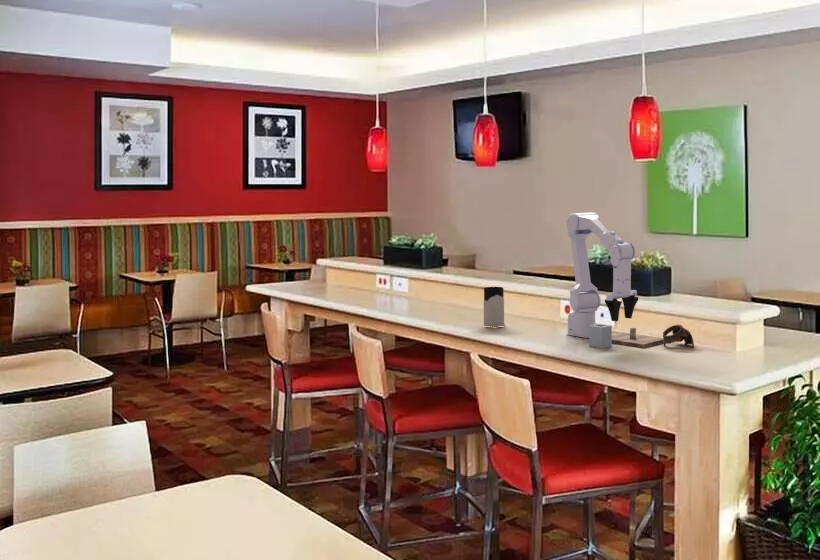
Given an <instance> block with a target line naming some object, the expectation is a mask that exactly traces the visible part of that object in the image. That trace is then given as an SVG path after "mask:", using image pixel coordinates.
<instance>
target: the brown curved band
mask: <svg viewBox="0 0 820 560" xmlns="http://www.w3.org/2000/svg"><path fill="white" fill-rule="evenodd" d="M670 333H672V334H670ZM668 334H670V335H668ZM662 338H663V343H662V344H663V346H664V347H666V344H671V343H675V342H677V343H681V342H683V341H684V345H691V347H692V348H695V343H694V339H693V335H692V333H691V332H690V331H689V330H688V329H687V328H685V327H684V326H683V325H682V324H675V325H671V326H669V327H668V328H666V329H665V330H664V331H663V332H662Z"/></svg>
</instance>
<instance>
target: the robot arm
mask: <svg viewBox="0 0 820 560" xmlns="http://www.w3.org/2000/svg"><path fill="white" fill-rule="evenodd" d="M566 226H567V227H566V228H567V236H568V237H569V240H570V245H571V255H572V262H573V270H574V276H575V277H574V279H575V285H574V286H573V287H572V288H571V290H570V291H569V293H570V294H569V305H570V308H571V309H572V310H570V311H569V312H568V315H567V333H566V335H567V336H572V337H579V338H587V339H588V338H589V326H591V325H596V312H597V311H598V309H599V308H600V307H601V296H600V294H599V292H598V287H596V286H595V285H594V284H593V283H592V282H591V274H590V266H589V258H588V257H589V256H588V250H587V249H588V248H587V242H586V240H587V239H588V237H590V236H591V235H592V234H594V235H596V237H598V238H599V239H600V240H599V241H600V244H601V245H602V246H603V247H604V248H605V249H606V250H607V251H608V252H609V257H610V259H611V266H612V269H613V270H612V271H613V273H612V277H613V278H612V282H613V283H612V292H609V293H607V294H606V295H605V296H606V297H605V299H604V303H605V305H606V307H607V309H608V312H609V314H610V315H609V316H610V320H611V322H618V321H619V315H620V309H621V307H622V306H621V305H622V304H623V311H624V314H623V315H624V318H625V319H632V317H633V314H634V311H635V308H636V305H637V303H638V301H639V296H638V290H636V289H632V284H631V283H632V281H631V280H632V279H631V278H632V277H631V276H632V260H633V259H634V257H635V254H636V250H635V246H634V244H633V243H632V242H626V241H624V240H623V239H622V238H621V237H620V236H618V235H617V232H615V230H608V229H607V228H606V227H605V226H604V224H603V223H602V222H601V218H600V216H599V215H598V214H597V213H596V212H594V211H593V212H592V211H591V212H578V213H577V212H571V213H570V214H569V215H568V217H567V220H566ZM618 299H621V300H622V301H620V300H618Z"/></svg>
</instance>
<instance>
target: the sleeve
mask: <svg viewBox="0 0 820 560" xmlns="http://www.w3.org/2000/svg"><path fill="white" fill-rule="evenodd" d="M612 327H613V326H612V325H611V324H603V323H597V324H596V323H595V325H591V326H589V337H588V338H589V341H588V343H589V345H588V346H589V347H590V348H591V347H593V348H598V349H605V348H610V347H612V344H613V343H612V335H613V333H612Z"/></svg>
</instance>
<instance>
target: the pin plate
mask: <svg viewBox="0 0 820 560" xmlns="http://www.w3.org/2000/svg"><path fill="white" fill-rule="evenodd" d="M612 344H615V345H616V344H617V345H622V346H629V347H636V348H641V349H644V348H645V349H646V348H648V347H653V346H657V345H661V344H663V337H657V336H652V335H651V336H650V335H645V334H637V328H636V327H630V328H629V332H624V331H623V332H618V333H614V334H613V333H612Z"/></svg>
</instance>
